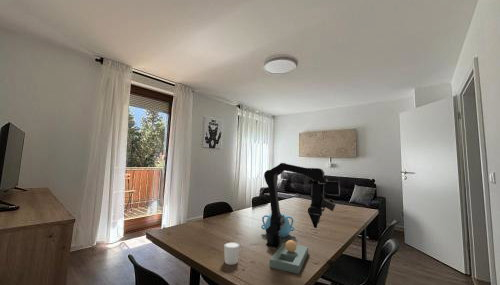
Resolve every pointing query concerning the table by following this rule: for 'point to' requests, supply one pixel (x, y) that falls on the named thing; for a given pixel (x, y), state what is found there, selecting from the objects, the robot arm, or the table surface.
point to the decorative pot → (284, 230)
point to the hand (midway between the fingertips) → (316, 225)
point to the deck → (289, 259)
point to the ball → (290, 246)
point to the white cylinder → (231, 252)
